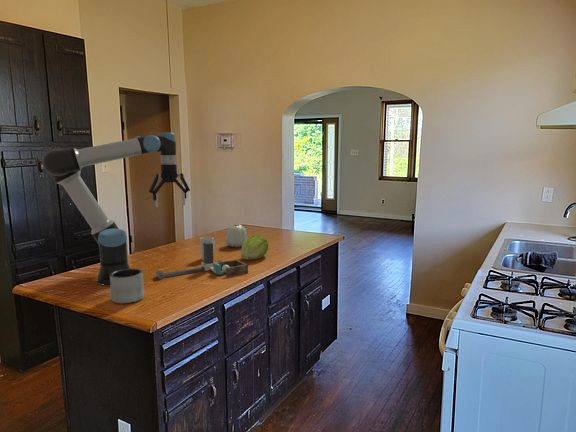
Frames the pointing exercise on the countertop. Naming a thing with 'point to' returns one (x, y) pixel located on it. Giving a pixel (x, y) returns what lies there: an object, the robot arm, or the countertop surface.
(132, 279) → the planter
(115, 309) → the countertop surface
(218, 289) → the countertop surface
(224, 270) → the ball
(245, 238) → the vase
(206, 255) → the carriage
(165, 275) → the rail
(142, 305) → the countertop surface
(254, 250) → the lettuce
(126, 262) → the robot arm
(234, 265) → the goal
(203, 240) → the mug
